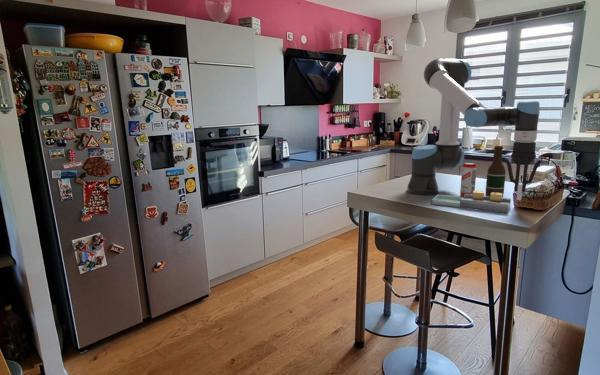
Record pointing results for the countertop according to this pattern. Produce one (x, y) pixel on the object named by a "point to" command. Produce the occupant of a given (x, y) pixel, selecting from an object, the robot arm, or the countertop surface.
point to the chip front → (496, 197)
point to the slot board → (485, 204)
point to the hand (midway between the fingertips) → (518, 199)
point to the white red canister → (468, 178)
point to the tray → (446, 200)
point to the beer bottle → (496, 174)
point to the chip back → (478, 195)
